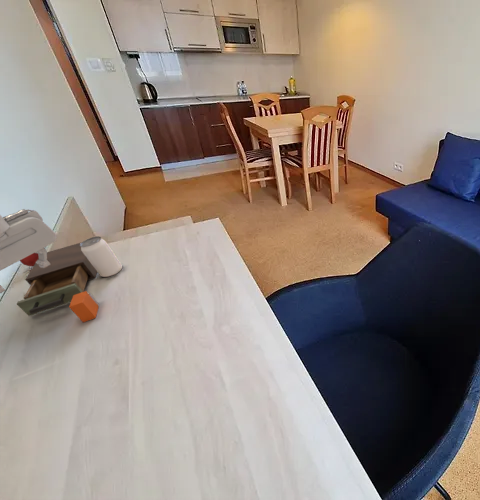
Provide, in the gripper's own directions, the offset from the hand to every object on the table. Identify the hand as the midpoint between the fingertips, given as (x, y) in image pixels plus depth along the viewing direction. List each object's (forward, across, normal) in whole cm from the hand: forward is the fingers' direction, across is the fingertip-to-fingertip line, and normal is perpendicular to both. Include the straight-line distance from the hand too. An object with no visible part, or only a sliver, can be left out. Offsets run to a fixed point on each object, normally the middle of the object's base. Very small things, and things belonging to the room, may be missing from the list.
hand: (24, 278), depth 71 cm
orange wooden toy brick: (+17, -5, +1) cm, 18 cm away
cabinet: (+17, -17, -24) cm, 34 cm away
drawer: (+16, -7, -14) cm, 23 cm away
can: (+17, -21, -11) cm, 29 cm away
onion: (+17, -17, -44) cm, 50 cm away
